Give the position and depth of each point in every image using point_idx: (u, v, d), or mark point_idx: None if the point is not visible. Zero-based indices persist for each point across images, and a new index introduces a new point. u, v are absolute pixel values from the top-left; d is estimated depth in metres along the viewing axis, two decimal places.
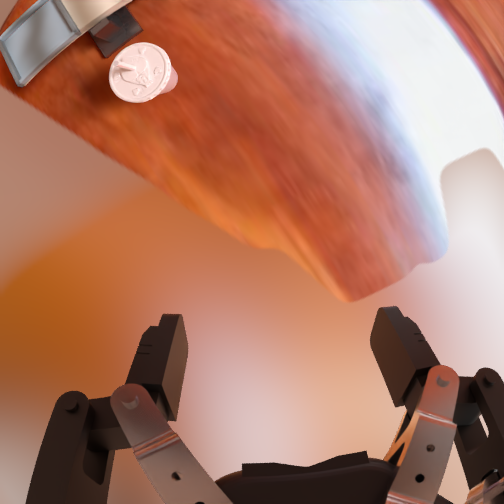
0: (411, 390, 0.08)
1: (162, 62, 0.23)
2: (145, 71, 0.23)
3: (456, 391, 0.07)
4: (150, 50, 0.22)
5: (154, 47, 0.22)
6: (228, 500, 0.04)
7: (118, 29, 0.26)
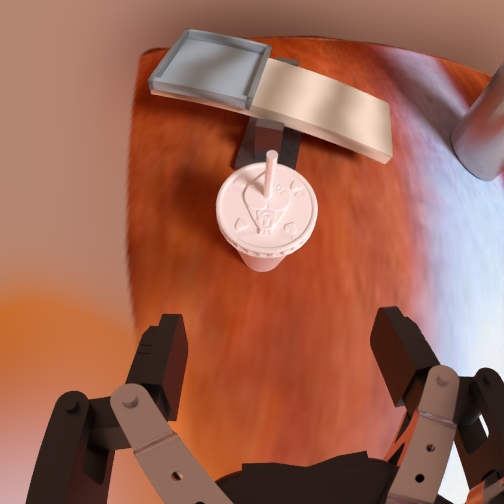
0: (411, 390, 0.08)
1: (305, 224, 0.18)
2: (275, 214, 0.18)
3: (456, 391, 0.07)
4: (304, 196, 0.19)
5: (312, 198, 0.18)
6: (228, 500, 0.04)
7: None
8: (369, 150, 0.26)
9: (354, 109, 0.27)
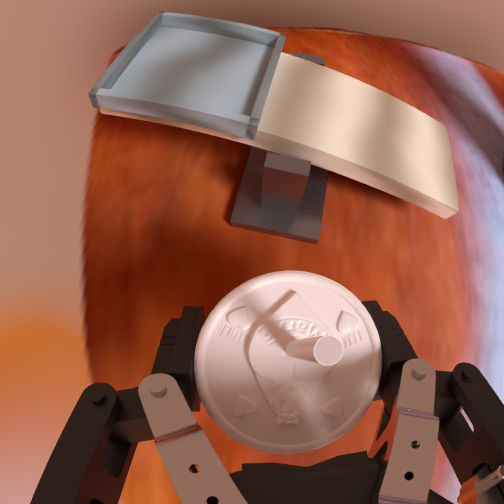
0: (387, 383, 0.09)
1: (358, 399, 0.09)
2: (307, 385, 0.09)
3: (431, 385, 0.07)
4: (361, 343, 0.09)
5: (375, 346, 0.09)
6: (241, 498, 0.04)
7: (295, 203, 0.18)
8: (430, 201, 0.17)
9: (408, 136, 0.17)
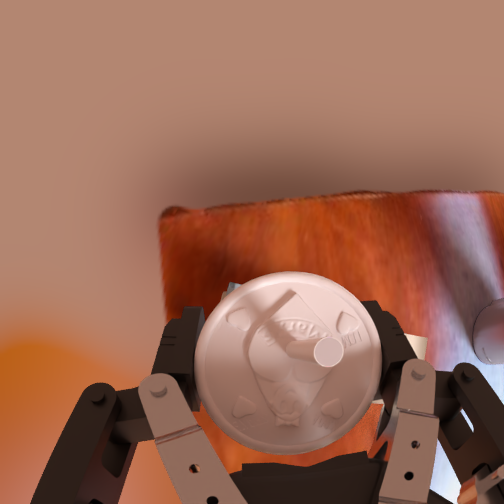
0: (387, 383, 0.09)
1: (358, 400, 0.09)
2: (308, 386, 0.09)
3: (431, 385, 0.07)
4: (361, 344, 0.09)
5: (375, 346, 0.09)
6: (241, 498, 0.04)
7: None
8: None
9: None
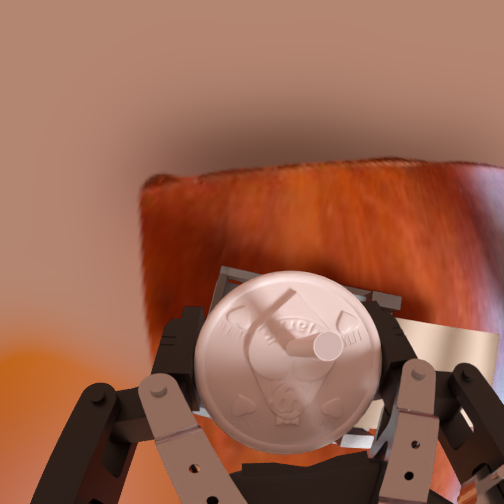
0: (387, 383, 0.09)
1: (358, 399, 0.09)
2: (307, 384, 0.09)
3: (431, 385, 0.07)
4: (361, 343, 0.09)
5: (375, 346, 0.09)
6: (241, 498, 0.04)
7: None
8: None
9: None
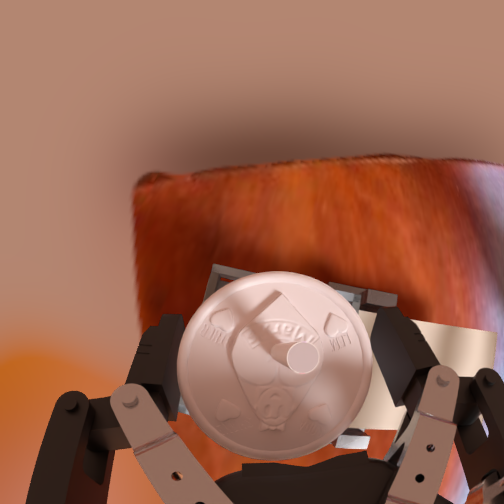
0: (411, 390, 0.08)
1: (347, 405, 0.08)
2: (293, 390, 0.09)
3: (456, 391, 0.07)
4: (350, 347, 0.09)
5: (365, 350, 0.09)
6: (228, 500, 0.04)
7: None
8: None
9: (457, 374, 0.17)
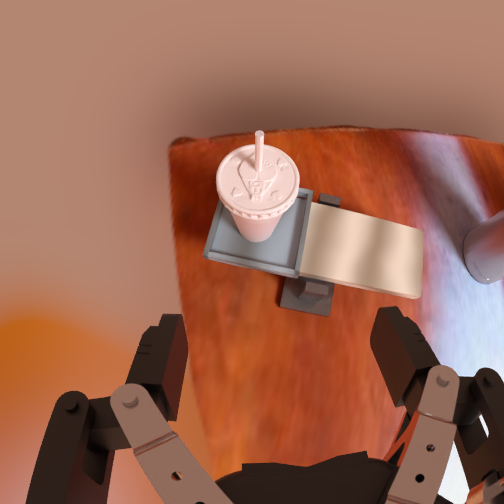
0: (411, 390, 0.08)
1: (289, 192, 0.22)
2: (264, 184, 0.22)
3: (456, 391, 0.07)
4: (288, 170, 0.22)
5: (295, 171, 0.22)
6: (228, 500, 0.04)
7: (317, 299, 0.33)
8: (400, 294, 0.30)
9: (390, 251, 0.31)
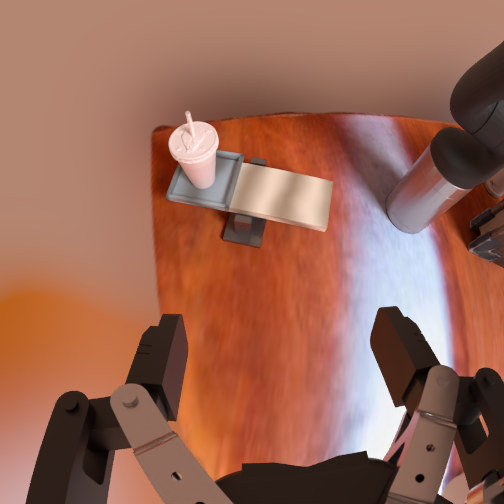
0: (411, 390, 0.08)
1: (209, 146, 0.35)
2: (196, 143, 0.35)
3: (456, 391, 0.07)
4: (211, 135, 0.36)
5: (215, 135, 0.35)
6: (228, 500, 0.04)
7: (248, 232, 0.46)
8: (310, 225, 0.43)
9: (301, 195, 0.44)
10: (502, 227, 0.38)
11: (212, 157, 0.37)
